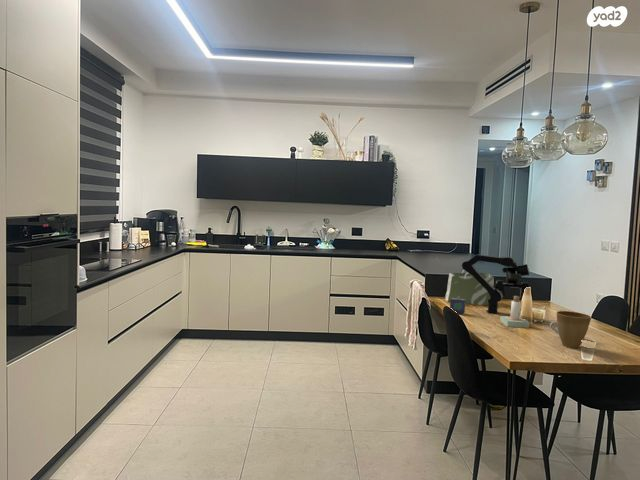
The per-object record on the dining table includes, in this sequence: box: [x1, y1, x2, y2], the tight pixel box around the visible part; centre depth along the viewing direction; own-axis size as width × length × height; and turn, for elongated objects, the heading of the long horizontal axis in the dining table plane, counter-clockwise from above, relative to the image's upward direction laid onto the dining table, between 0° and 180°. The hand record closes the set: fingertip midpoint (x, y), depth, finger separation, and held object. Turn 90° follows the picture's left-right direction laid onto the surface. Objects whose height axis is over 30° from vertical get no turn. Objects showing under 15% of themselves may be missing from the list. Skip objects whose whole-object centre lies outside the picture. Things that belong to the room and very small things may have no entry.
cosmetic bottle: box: [509, 295, 522, 320], centre depth 263 cm, size 5×5×13 cm
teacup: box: [549, 321, 560, 337], centre depth 241 cm, size 14×11×8 cm
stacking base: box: [499, 315, 531, 329], centre depth 263 cm, size 12×12×3 cm
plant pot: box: [556, 310, 592, 349], centre depth 225 cm, size 15×15×16 cm
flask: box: [449, 296, 466, 315], centre depth 283 cm, size 9×3×11 cm, turn 88°
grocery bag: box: [444, 269, 495, 306], centre depth 318 cm, size 32×14×23 cm, turn 82°
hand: (512, 297), depth 273 cm, fingers open, 9 cm apart
